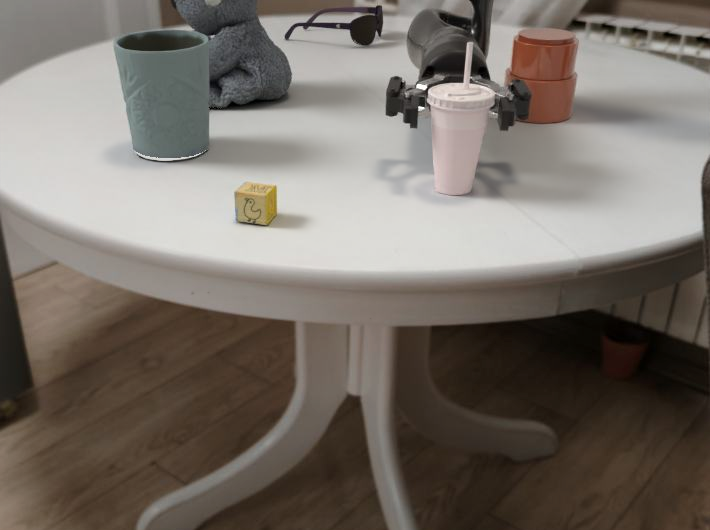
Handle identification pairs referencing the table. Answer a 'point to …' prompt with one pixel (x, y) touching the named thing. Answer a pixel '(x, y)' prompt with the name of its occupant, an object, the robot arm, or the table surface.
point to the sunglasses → (351, 24)
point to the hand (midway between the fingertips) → (459, 119)
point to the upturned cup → (545, 71)
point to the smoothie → (458, 130)
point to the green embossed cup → (165, 90)
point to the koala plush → (237, 51)
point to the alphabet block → (255, 203)
